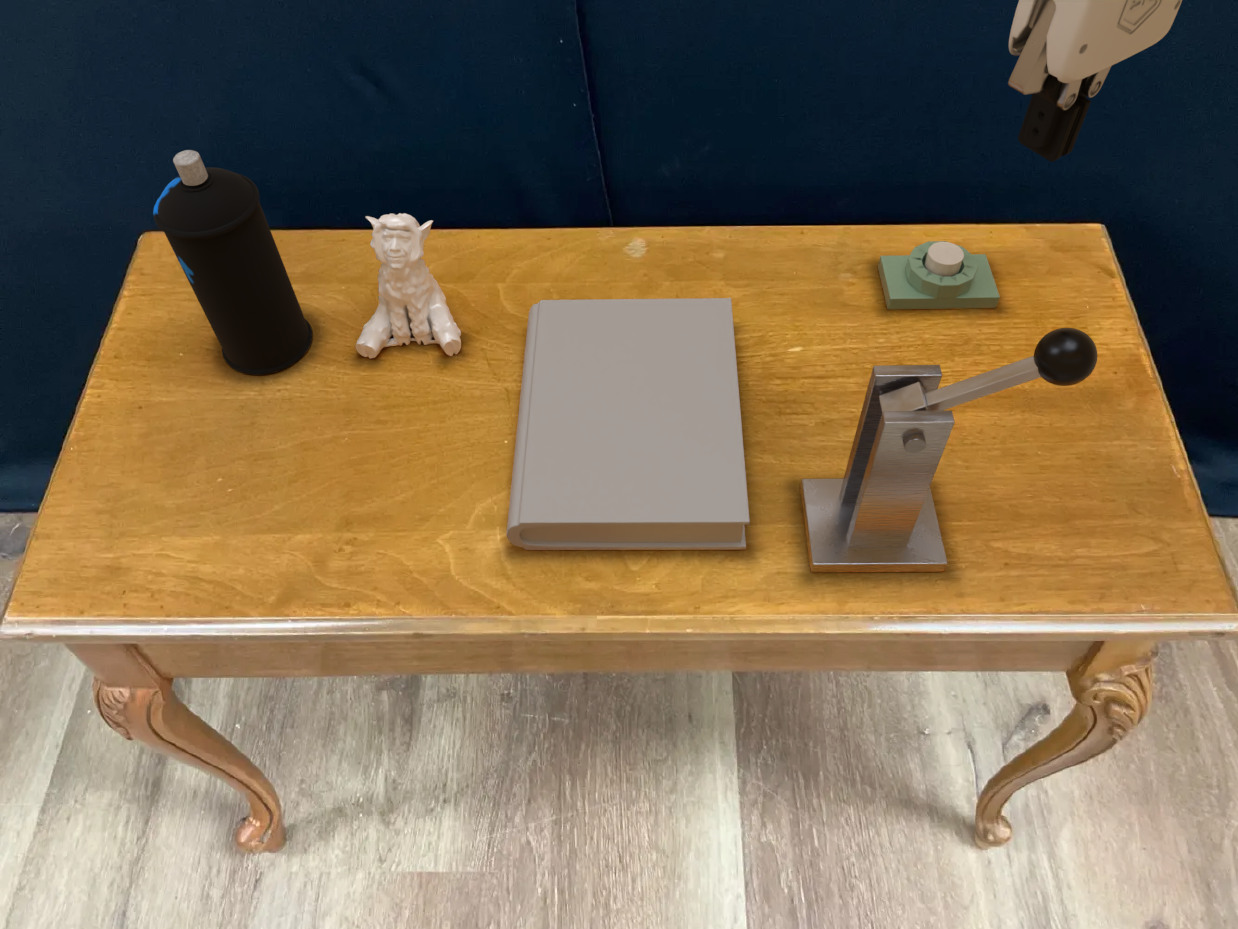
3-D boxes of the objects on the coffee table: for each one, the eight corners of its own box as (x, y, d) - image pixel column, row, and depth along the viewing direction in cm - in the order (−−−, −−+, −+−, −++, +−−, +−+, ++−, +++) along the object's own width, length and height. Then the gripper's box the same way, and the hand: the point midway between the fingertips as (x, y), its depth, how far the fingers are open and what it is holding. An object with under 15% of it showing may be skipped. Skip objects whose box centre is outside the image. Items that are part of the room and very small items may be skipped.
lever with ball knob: (1092, 343, 62) (1081, 307, 59) (1109, 385, 59) (1098, 349, 57) (891, 412, 67) (873, 382, 65) (900, 453, 65) (882, 423, 62)
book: (731, 297, 86) (749, 521, 71) (728, 328, 89) (745, 550, 74) (526, 299, 86) (503, 522, 72) (530, 330, 89) (509, 550, 75)
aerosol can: (324, 314, 92) (255, 127, 76) (298, 378, 87) (219, 193, 71) (240, 310, 92) (155, 123, 76) (209, 373, 87) (111, 188, 71)
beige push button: (956, 254, 90) (960, 240, 89) (963, 277, 89) (967, 264, 87) (921, 254, 91) (925, 241, 89) (927, 277, 89) (931, 264, 87)
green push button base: (981, 264, 93) (990, 240, 91) (996, 308, 90) (1005, 284, 87) (877, 266, 94) (883, 241, 91) (887, 310, 90) (893, 285, 87)
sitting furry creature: (357, 362, 88) (321, 259, 78) (368, 296, 93) (336, 192, 83) (462, 357, 88) (439, 253, 78) (467, 292, 93) (446, 187, 83)
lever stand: (924, 486, 78) (977, 347, 65) (944, 572, 73) (1005, 440, 60) (799, 487, 78) (828, 349, 65) (810, 572, 73) (843, 441, 60)
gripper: (1118, -94, 46) (1007, 218, 61) (1306, -171, 51) (1162, 135, 66) (998, -144, 50) (921, 160, 65) (1184, -211, 55) (1073, 86, 70)
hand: (1043, 147), depth 65 cm, fingers closed
